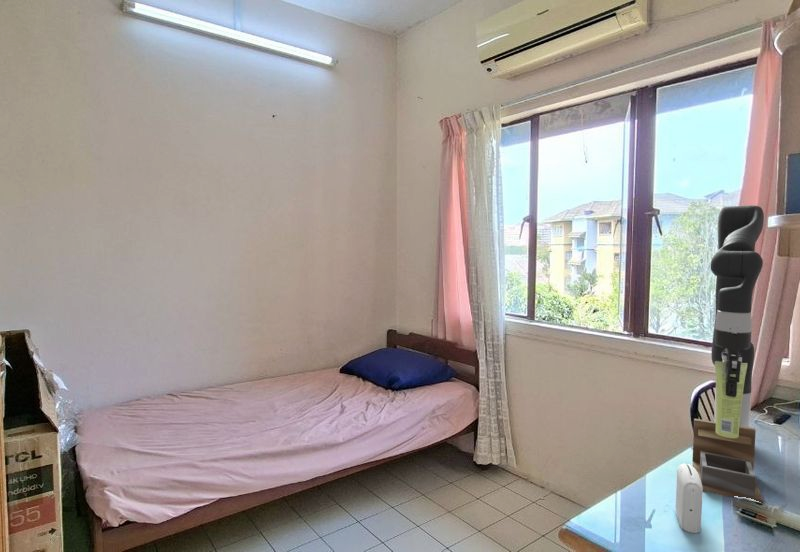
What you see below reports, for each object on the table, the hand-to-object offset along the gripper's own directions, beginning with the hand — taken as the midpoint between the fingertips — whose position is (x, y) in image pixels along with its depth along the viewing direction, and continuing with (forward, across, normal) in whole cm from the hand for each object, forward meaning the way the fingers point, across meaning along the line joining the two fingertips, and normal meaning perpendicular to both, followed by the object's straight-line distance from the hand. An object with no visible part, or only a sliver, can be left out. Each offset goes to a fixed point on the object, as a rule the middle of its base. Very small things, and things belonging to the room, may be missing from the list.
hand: (729, 393), depth 119 cm
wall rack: (+25, -2, 0) cm, 25 cm away
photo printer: (+25, +23, -9) cm, 35 cm away
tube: (+11, 0, 0) cm, 11 cm away
